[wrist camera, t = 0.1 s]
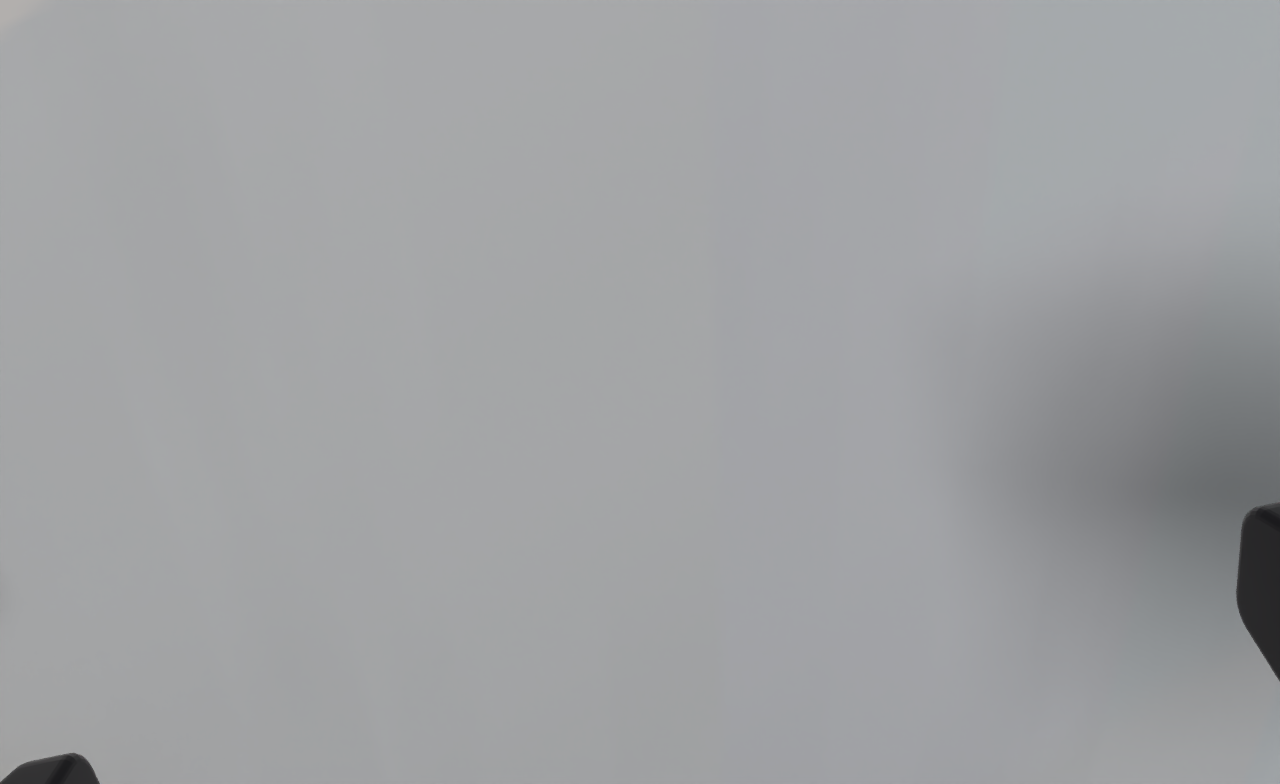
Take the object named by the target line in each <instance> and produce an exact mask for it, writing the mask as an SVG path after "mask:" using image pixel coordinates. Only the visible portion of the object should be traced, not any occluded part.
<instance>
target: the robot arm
mask: <svg viewBox="0 0 1280 784" xmlns="http://www.w3.org/2000/svg"><path fill="white" fill-rule="evenodd" d="M1236 593H1237V605H1238V609H1239V613H1240V616H1241V618H1242V620H1243V623H1244V625H1245V627H1246V628H1247V630H1248V632H1249V633H1250V635H1251V636H1252V638H1253V640H1254V641H1255V643H1256V644H1257V646H1258V648H1259V649H1260V651H1261V652H1262V654H1263V656H1264V657H1265V659H1266V660H1267V662H1268V664H1269V665H1270V667H1271V668H1272V670H1273V672H1274V673H1275V675H1276V676H1277V678H1278V679H1279V681H1280V502H1278V503H1273V504H1269V505H1264V506H1259V507H1255V508H1253V509H1252V510H1251V511H1249V512H1248V513H1247V514H1246V516H1245V518H1244V520H1243V524H1242V530H1241V542H1240V554H1239V566H1238V579H1237V591H1236ZM0 784H100V783H99V781H98V779H97V777H96V775H95V772H94V770H93V768H92V767H91V765H90V763H89V762H88V761H87V760H86V759H85V758H84V757H83V756H81V755H79V754H76V753H68V754H63V755H58V756H54V757H49V758H44V759H39V760H34V761H30V762H27V763H24V764H22V765H20V766H19V767H17V768H16V769H15V770H14V771H12V772H11V773H10V774H9V775H8V776H7V777H6V778H5V779H4V780H2V781H1V782H0Z"/></svg>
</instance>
